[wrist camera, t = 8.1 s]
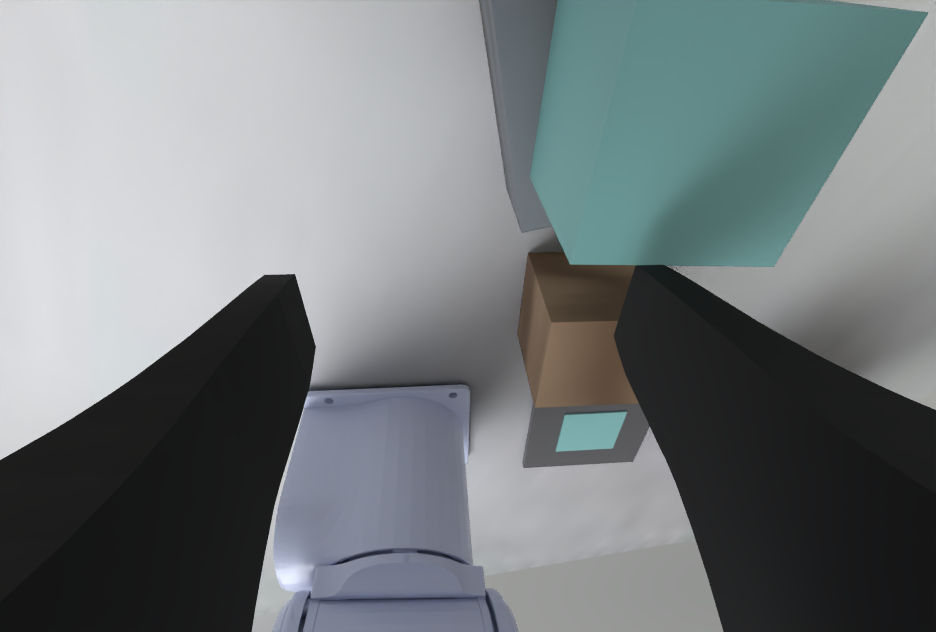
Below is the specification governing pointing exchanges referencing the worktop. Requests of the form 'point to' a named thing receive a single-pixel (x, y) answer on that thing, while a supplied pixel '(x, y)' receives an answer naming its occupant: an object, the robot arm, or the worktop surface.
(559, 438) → the card
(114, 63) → the worktop surface
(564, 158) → the teal block
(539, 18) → the charcoal base block
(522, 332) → the walnut block
